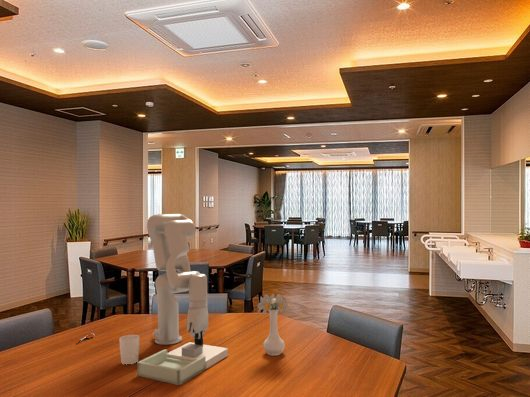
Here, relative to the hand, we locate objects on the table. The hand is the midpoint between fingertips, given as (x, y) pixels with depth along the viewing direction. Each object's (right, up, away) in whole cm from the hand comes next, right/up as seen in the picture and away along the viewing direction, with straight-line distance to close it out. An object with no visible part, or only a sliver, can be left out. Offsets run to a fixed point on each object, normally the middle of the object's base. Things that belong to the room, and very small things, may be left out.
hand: (198, 347), depth 178 cm
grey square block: (-2, -1, -4) cm, 5 cm away
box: (-8, -4, -16) cm, 18 cm away
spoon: (-60, -6, +22) cm, 64 cm away
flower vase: (+31, -4, +5) cm, 32 cm away
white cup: (-28, -5, -4) cm, 28 cm away
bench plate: (0, -4, -1) cm, 4 cm away
